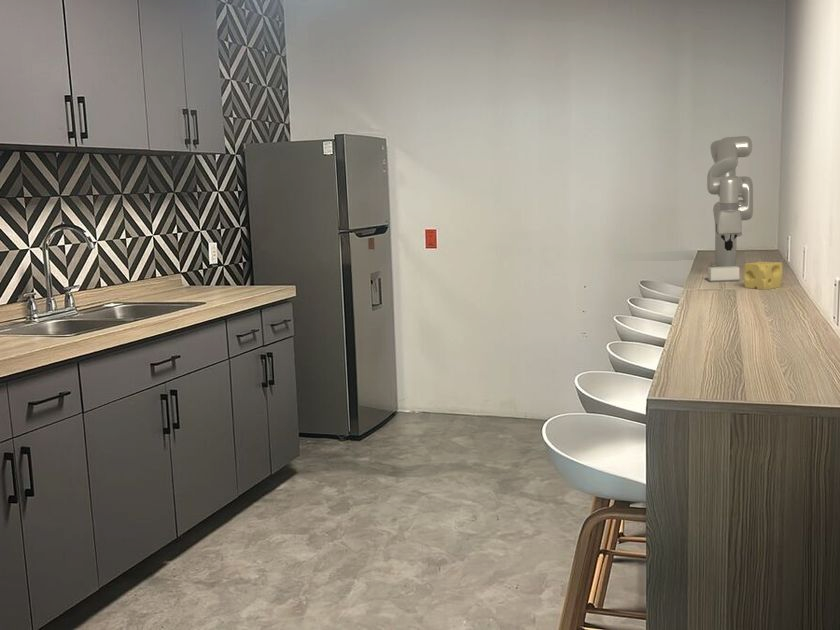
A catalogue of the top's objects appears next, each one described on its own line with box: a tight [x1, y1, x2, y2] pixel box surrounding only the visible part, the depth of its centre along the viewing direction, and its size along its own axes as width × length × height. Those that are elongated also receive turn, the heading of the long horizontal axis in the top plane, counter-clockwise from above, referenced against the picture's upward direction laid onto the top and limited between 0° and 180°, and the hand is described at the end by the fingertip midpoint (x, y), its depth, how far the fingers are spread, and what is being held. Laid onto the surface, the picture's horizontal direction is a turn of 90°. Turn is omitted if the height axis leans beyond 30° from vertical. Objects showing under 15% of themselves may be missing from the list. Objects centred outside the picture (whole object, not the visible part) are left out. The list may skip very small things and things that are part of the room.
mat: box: [704, 277, 740, 283], centre depth 364 cm, size 10×12×1 cm
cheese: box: [743, 261, 784, 291], centre depth 338 cm, size 10×11×10 cm
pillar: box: [707, 266, 741, 280], centre depth 363 cm, size 5×5×12 cm
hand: (728, 250), depth 362 cm, fingers closed
